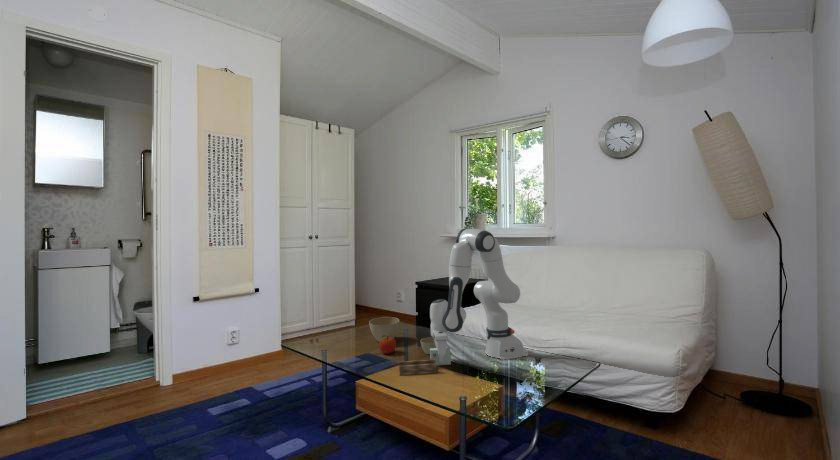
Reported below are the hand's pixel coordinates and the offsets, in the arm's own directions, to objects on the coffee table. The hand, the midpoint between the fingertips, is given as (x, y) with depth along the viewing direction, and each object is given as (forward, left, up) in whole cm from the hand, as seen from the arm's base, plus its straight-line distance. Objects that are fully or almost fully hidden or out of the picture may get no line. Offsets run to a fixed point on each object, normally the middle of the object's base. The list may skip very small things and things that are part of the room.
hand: (440, 358), depth 225 cm
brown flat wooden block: (+12, +6, -3) cm, 14 cm away
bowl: (+4, -18, -3) cm, 18 cm away
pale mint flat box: (0, -1, -3) cm, 3 cm away
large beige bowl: (+29, -44, -3) cm, 52 cm away
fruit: (+27, -23, -3) cm, 35 cm away
